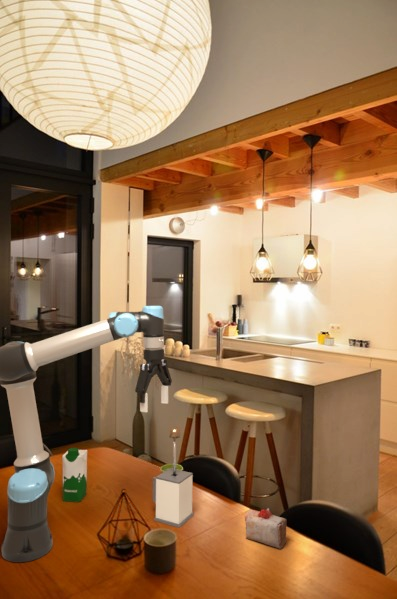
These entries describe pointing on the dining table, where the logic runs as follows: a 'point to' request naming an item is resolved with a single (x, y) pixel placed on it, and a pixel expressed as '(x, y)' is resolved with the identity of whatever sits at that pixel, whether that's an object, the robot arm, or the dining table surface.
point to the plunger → (174, 444)
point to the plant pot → (168, 466)
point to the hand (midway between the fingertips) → (154, 407)
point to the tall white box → (173, 497)
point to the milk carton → (74, 475)
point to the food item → (266, 528)
